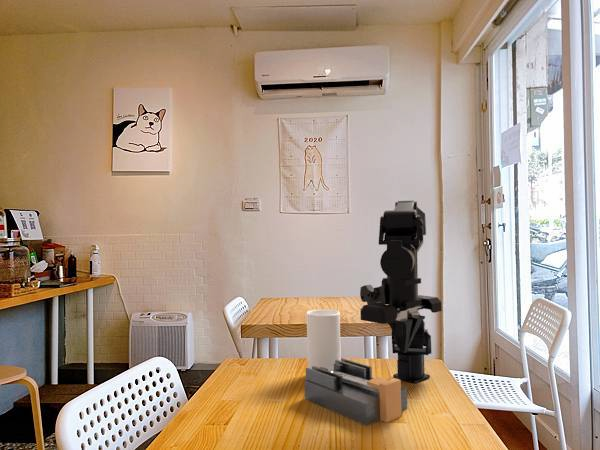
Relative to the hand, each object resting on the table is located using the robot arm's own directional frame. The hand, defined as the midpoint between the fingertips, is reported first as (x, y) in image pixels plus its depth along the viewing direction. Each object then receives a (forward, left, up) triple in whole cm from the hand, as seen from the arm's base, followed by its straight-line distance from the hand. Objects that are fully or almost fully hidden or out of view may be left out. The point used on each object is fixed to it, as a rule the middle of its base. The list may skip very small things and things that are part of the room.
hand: (403, 352), depth 89 cm
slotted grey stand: (+4, -10, -12) cm, 16 cm away
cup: (-3, -27, -12) cm, 30 cm away
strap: (+4, -10, -8) cm, 13 cm away
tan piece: (+4, -2, -12) cm, 13 cm away
